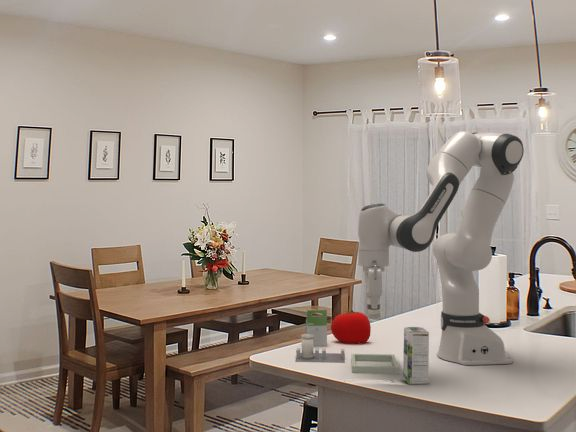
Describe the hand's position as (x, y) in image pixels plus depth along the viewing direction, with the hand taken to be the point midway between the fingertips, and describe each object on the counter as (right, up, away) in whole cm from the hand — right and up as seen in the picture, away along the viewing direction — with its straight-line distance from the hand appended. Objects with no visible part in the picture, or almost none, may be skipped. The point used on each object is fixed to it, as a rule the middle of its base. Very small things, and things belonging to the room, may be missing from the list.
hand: (373, 306), depth 167 cm
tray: (0, -19, +1) cm, 19 cm away
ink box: (-16, -18, +25) cm, 35 cm away
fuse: (0, -3, 0) cm, 3 cm away
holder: (-15, -19, +10) cm, 26 cm away
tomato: (-3, -18, +31) cm, 36 cm away
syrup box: (+10, -19, -9) cm, 24 cm away
